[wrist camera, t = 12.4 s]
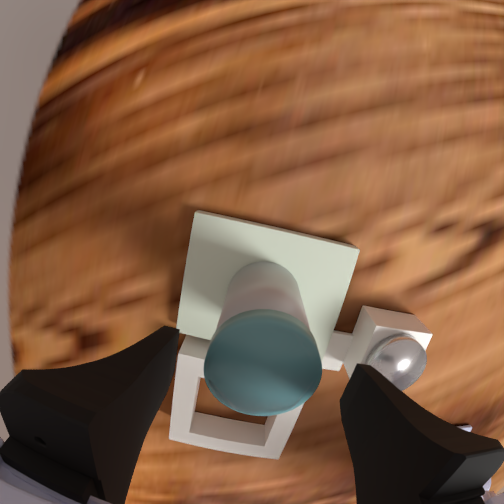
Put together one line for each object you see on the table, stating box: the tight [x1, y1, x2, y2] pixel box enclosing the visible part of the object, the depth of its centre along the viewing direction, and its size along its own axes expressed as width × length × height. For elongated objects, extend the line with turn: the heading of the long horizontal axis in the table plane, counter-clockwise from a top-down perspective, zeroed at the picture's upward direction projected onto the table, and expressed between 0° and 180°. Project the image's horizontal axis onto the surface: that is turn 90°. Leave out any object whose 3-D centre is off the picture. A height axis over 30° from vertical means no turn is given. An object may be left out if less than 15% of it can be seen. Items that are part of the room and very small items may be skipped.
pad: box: [176, 210, 360, 361], centre depth 20 cm, size 10×8×1 cm
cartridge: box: [204, 261, 322, 416], centre depth 16 cm, size 5×5×8 cm
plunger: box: [365, 333, 427, 391], centre depth 19 cm, size 4×4×4 cm
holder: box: [169, 305, 433, 459], centre depth 21 cm, size 16×14×3 cm
